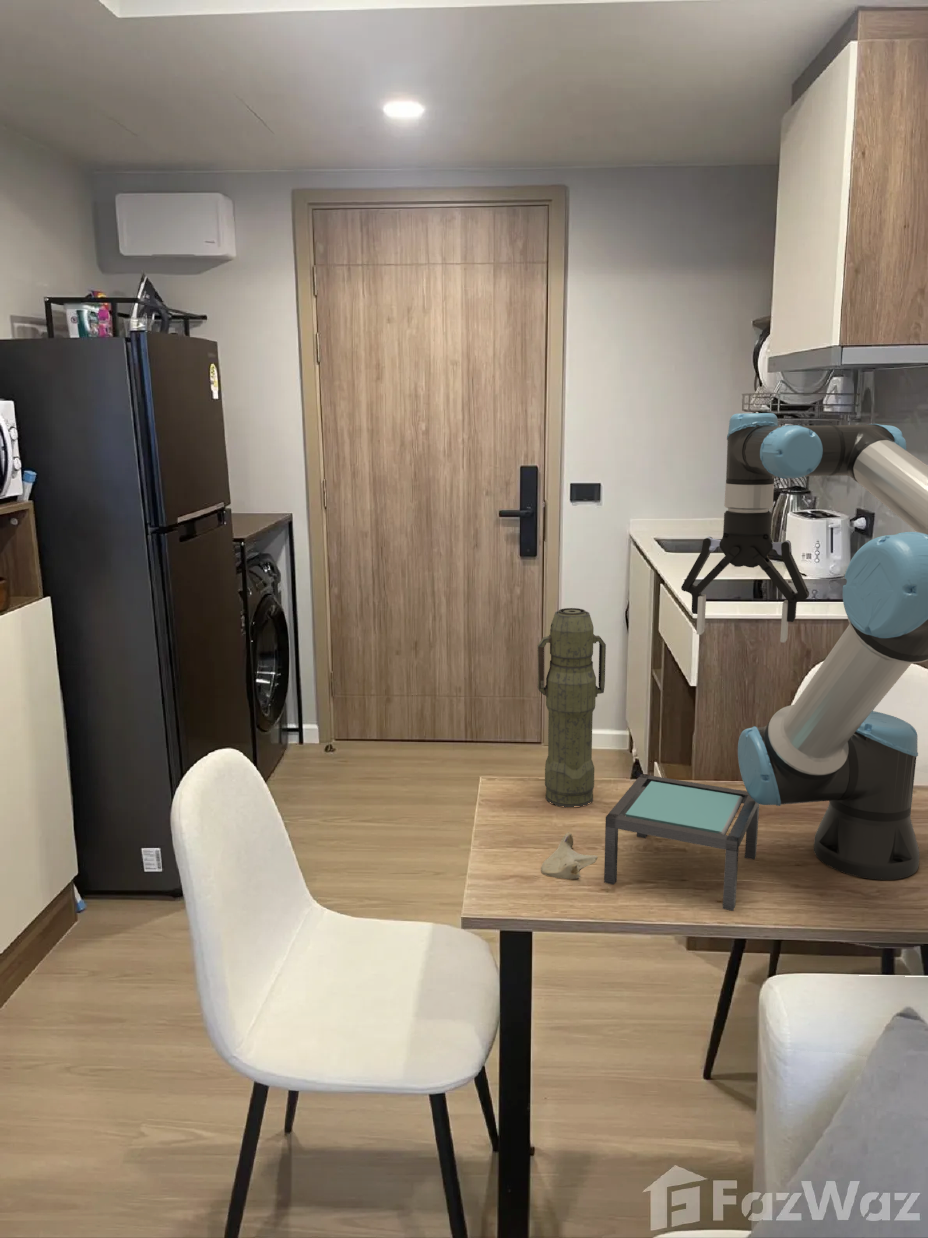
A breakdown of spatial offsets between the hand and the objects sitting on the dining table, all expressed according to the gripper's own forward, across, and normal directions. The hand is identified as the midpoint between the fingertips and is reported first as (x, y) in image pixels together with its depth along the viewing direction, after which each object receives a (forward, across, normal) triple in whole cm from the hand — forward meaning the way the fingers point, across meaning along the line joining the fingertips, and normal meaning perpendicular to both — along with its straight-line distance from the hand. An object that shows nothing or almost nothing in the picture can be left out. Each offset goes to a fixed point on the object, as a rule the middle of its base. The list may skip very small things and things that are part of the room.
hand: (741, 636), depth 154 cm
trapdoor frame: (+32, +3, +24) cm, 40 cm away
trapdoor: (+22, +3, +24) cm, 33 cm away
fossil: (+32, +19, +30) cm, 48 cm away
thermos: (+32, +28, +6) cm, 43 cm away
